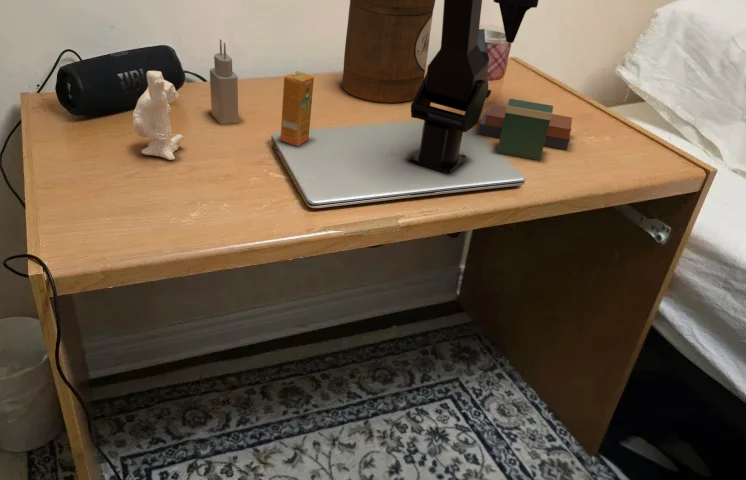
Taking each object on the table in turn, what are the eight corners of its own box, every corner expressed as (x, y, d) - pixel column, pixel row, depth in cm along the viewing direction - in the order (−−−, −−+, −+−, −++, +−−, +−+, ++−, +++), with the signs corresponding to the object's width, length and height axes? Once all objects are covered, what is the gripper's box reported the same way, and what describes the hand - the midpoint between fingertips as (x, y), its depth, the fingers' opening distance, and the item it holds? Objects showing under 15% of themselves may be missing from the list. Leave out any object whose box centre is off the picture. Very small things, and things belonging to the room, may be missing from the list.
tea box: (504, 121, 105) (510, 90, 98) (546, 128, 104) (555, 97, 97) (495, 159, 103) (500, 130, 96) (538, 167, 102) (546, 138, 94)
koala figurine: (188, 162, 91) (182, 77, 85) (137, 166, 90) (128, 78, 83) (181, 138, 98) (176, 57, 91) (134, 141, 96) (125, 58, 90)
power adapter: (220, 124, 103) (218, 46, 97) (210, 112, 107) (207, 36, 101) (239, 122, 105) (238, 45, 98) (228, 110, 109) (226, 35, 102)
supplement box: (299, 147, 98) (301, 80, 93) (280, 141, 100) (281, 75, 94) (311, 140, 101) (314, 75, 95) (292, 134, 102) (294, 69, 96)
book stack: (482, 121, 112) (486, 101, 110) (567, 136, 109) (573, 116, 107) (477, 134, 107) (481, 113, 105) (566, 150, 104) (572, 129, 102)
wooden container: (434, 102, 118) (454, -31, 106) (355, 104, 115) (367, -33, 102) (405, 75, 130) (420, -47, 118) (332, 77, 126) (341, -49, 114)
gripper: (589, -52, 88) (559, 65, 97) (589, -68, 103) (563, 35, 111) (504, -62, 90) (483, 54, 99) (517, -75, 105) (497, 26, 114)
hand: (509, 42), depth 106 cm, fingers closed
